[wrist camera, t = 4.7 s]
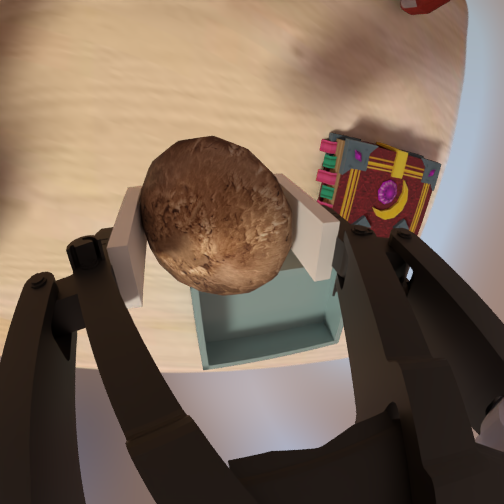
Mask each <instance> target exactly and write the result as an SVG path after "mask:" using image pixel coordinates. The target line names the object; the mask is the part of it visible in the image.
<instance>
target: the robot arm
mask: <svg viewBox="0 0 504 504" xmlns="http://www.w3.org/2000/svg"><path fill="white" fill-rule="evenodd" d="M274 175H275V176H276V178H277V180H278V182H279V184H280V186H281V188H282V190H283V192H284V195H285V197H286V199H287V201H288V203H289V205H290V207H291V210H292V247H291V250H292V251H293V253H294V254H295V255H296V257H297V258H298V260H299V261H300V262H301V264H302V265H303V266H304V268H305V269H306V271H307V272H308V273H309V275H310V276H311V278H312V279H313V280H314V282H315V281H321V280H326V279H330V276H331V271H332V267H333V268H334V269H335V271H336V272H337V275H336V279H335V284H334V289H333V294H332V296H335V293H336V292H337V293H338V298H339V303H340V309H341V314H342V319H343V325H344V330H345V336H346V342H347V348H348V354H349V360H350V367H351V373H352V381H353V388H354V396H355V404H356V413H357V415H356V421H355V424H354V425H353V426H351V427H350V428H348V429H347V430H345V431H344V432H343V433H341V434H340V435H338V436H337V437H336V438H334V439H332V440H331V441H329V442H328V443H327V444H325V445H323V446H322V447H319V448H315V449H303V450H288V451H270V452H266V453H262V454H258V455H253V456H249V457H244V458H239V459H234V460H229V461H228V463H229V468H228V466H227V465H226V464H225V463H224V461H223V460H222V459H221V457H220V456H219V455H218V453H217V452H216V451H215V449H214V448H213V447H212V445H211V444H210V442H209V441H208V440H207V439H206V437H205V436H204V434H203V433H202V431H201V430H200V428H199V427H198V426H197V424H196V423H195V422H194V420H193V419H192V418H191V417H190V416H189V415H187V414H186V413H185V412H184V410H183V409H182V407H181V406H180V404H179V403H178V401H177V399H176V398H175V396H174V395H173V393H172V391H171V390H170V388H169V386H168V385H167V383H166V381H165V380H164V378H163V376H162V374H161V373H160V371H159V369H158V367H157V366H156V364H155V362H154V360H153V358H152V357H151V355H150V353H149V351H148V349H147V347H146V345H145V344H144V342H143V340H142V338H141V336H140V334H139V332H138V330H137V328H136V326H135V324H134V322H133V320H132V318H131V316H130V314H129V312H128V309H129V308H138V307H142V303H143V284H144V269H145V256H146V245H147V238H146V235H145V232H144V230H143V227H142V220H141V204H140V194H141V189H142V186H136V187H129V188H128V189H127V191H126V194H125V197H124V199H123V202H122V205H121V207H120V210H119V213H118V216H117V218H116V221H115V224H114V227H111V228H104V229H101V230H100V231H99V232H97V233H96V234H95V236H94V235H88V236H83V237H80V238H78V239H75V240H74V241H72V242H71V243H70V244H69V245H68V246H67V249H66V251H67V254H68V258H69V261H70V264H71V267H72V270H73V274H72V275H71V276H68V277H66V278H63V279H60V280H57V281H56V280H55V278H54V275H53V274H52V273H50V272H41V273H37V274H35V275H33V276H31V278H30V279H28V280H27V281H26V283H25V285H24V287H23V290H22V292H21V295H20V298H19V300H18V303H17V306H16V309H15V312H14V315H13V318H12V321H11V325H10V328H9V331H8V335H7V338H6V342H5V346H4V349H3V353H2V358H1V362H0V504H86V503H85V497H84V492H83V486H82V480H81V472H80V465H79V456H78V445H77V434H76V433H77V432H76V414H75V364H76V344H77V330H80V329H83V328H86V330H87V334H88V338H89V341H90V344H91V348H92V351H93V354H94V357H95V360H96V364H97V367H98V369H99V372H100V375H101V378H102V380H103V384H104V386H105V389H106V392H107V394H108V397H109V399H110V402H111V405H112V407H113V409H114V411H115V414H116V417H117V419H118V421H119V423H120V425H121V428H122V430H123V432H124V435H125V437H126V440H127V441H126V447H127V449H128V452H129V454H130V456H131V459H132V461H133V462H134V464H135V466H136V468H137V470H138V472H139V474H140V476H141V478H142V479H143V481H144V483H145V485H146V487H147V488H148V490H149V492H150V493H151V495H152V497H153V498H154V500H155V502H156V503H157V504H504V324H503V323H502V322H501V320H500V319H499V318H498V317H497V316H496V314H495V313H494V312H493V311H492V310H491V309H490V308H489V307H488V305H487V304H486V303H485V302H484V301H483V300H482V299H481V298H480V297H479V296H478V294H477V293H476V292H475V291H474V290H473V289H472V288H471V287H470V286H469V285H468V284H467V283H466V282H465V281H464V280H463V279H462V278H461V277H460V276H459V275H458V274H457V273H456V272H455V271H454V270H453V269H452V268H451V267H450V266H449V265H448V264H447V263H446V262H445V261H444V260H443V259H442V258H441V257H440V256H439V255H438V254H437V253H436V252H434V251H433V250H432V249H431V248H430V247H429V246H428V245H427V244H426V243H425V242H423V241H422V240H421V239H420V238H419V237H418V236H417V235H416V234H414V233H413V232H411V231H409V230H408V229H404V228H393V229H392V230H391V232H390V236H389V238H382V237H377V236H376V234H375V232H374V231H373V230H371V229H370V228H368V227H365V226H362V225H351V224H350V223H349V222H348V221H346V220H345V219H344V218H343V217H341V216H340V215H339V214H337V212H336V211H334V210H333V209H332V208H330V207H328V206H325V205H320V204H319V203H318V202H317V201H315V200H314V199H313V198H312V197H311V196H309V195H308V194H307V193H306V192H304V191H303V190H302V189H301V188H300V187H298V186H297V185H296V184H295V183H293V182H292V181H291V180H290V179H288V178H287V177H286V176H285V175H283V174H274ZM410 267H411V268H412V270H413V274H412V277H411V279H410V281H409V280H408V279H407V278H406V277H407V274H408V271H409V268H410ZM471 427H472V428H473V429H474V430H475V431H476V432H477V433H478V434H479V436H477V438H476V439H474V436H473V432H472V428H471Z"/></svg>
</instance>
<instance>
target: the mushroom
mask: <svg viewBox="0 0 504 504" xmlns="http://www.w3.org/2000/svg"><path fill="white" fill-rule="evenodd" d="M140 204H141V220H142V227H143V230H144V232H145V235H146V238H147V241H148V243H149V246H150V249H151V250H152V252H153V254H154V255H155V257H156V259H157V261H158V262H159V264H160V265H161V266H162V267H163V268H164V269H166V270H167V271H168V272H169V273H170V274H171V275H172V276H173V277H174V278H175V279H177V280H178V281H179V282H181V283H184V284H186V285H188V286H190V287H192V288H194V289H196V290H198V291H201V292H206V293H211V294H217V295H222V296H226V295H236V294H244V293H250V292H252V291H254V290H256V289H258V288H259V287H261V286H263V285H264V284H266V283H268V282H269V281H271V280H273V279H274V278H275V277H276V276H277V275H278V273H279V271H280V269H281V267H282V265H283V263H284V261H285V259H286V257H287V255H288V253H289V251H290V249H291V247H292V210H291V207H290V205H289V203H288V201H287V199H286V197H285V195H284V192H283V190H282V188H281V186H280V184H279V182H278V180H277V178H276V176H275V175H274V174H273V173H272V172H271V171H270V170H269V169H268V168H267V167H266V166H265V165H264V164H263V163H262V162H261V161H260V160H259V159H258V158H257V157H256V156H255V155H254V154H252V153H251V152H250V151H249V150H248V149H246V148H244V147H241V146H239V145H236V144H234V143H231V142H229V141H226V140H223V139H221V138H218V137H215V136H208V137H200V138H194V139H187V140H181V141H178V142H176V143H175V144H173V145H172V146H171V147H169V148H168V149H167V150H166V151H164V152H163V153H162V154H161V155H160V156H158V157H157V158H156V159H155V160H154V161H153V162H152V164H151V165H150V167H149V169H148V172H147V175H146V178H145V181H144V183H143V186H142V189H141V194H140Z"/></svg>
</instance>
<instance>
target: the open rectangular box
mask: <svg viewBox="0 0 504 504" xmlns="http://www.w3.org/2000/svg"><path fill="white" fill-rule="evenodd" d="M336 275H337V272H336V271H335V269H334V268H333V267H332V271H331V276H330V279H326V280H321V281H315V282H314V280H313V279H312V278H311V276H310V275H309V273H308V272H307V271H306V269H305V268H304V266H303V265H302V264H301V262H300V261H299V260H298V258H297V257H296V255H295V254H294V253H293V251H292V250H291V249H290V251H289V253H288V255H287V257H286V259H285V261H284V263H283V265H282V267H281V269H280V271H279V273H278V275H277V276H276V277H275V278H274V279H273V280H271V281H269V282H268V283H266V284H264V285H263V286H261V287H259V288H258V289H256V290H254V291H252V292H250V293H244V294H236V295H226V296H222V295H217V294H211V293H206V292H201V291H198V290H196V289H194V288H192V287H190V290H191V297H192V304H193V311H194V318H195V324H196V331H197V337H198V343H199V349H200V355H201V360H202V366H203V370H209V369H215V368H222V367H228V366H234V365H240V364H246V363H251V362H257V361H262V360H267V359H272V358H277V357H282V356H286V355H291V354H295V353H300V352H304V351H308V350H313V349H317V348H321V347H325V346H329V345H333V344H336V343H338V342H339V338H340V335H341V332H342V328H343V319H342V314H341V309H340V303H339V298H338V293H337V292H336V293H335V296H332V294H333V289H334V284H335V279H336Z"/></svg>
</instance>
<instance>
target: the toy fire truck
mask: <svg viewBox="0 0 504 504" xmlns="http://www.w3.org/2000/svg"><path fill="white" fill-rule="evenodd" d="M449 1H450V0H401V3H400V6H401V8H402V10H404V11H405V12H407V13H409V14H411V15H416V14H428V13H430V12H432V11H433V10H435V9H437V8H439V7H440V6H442V5H444V4H446V3H447V2H449Z"/></svg>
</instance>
